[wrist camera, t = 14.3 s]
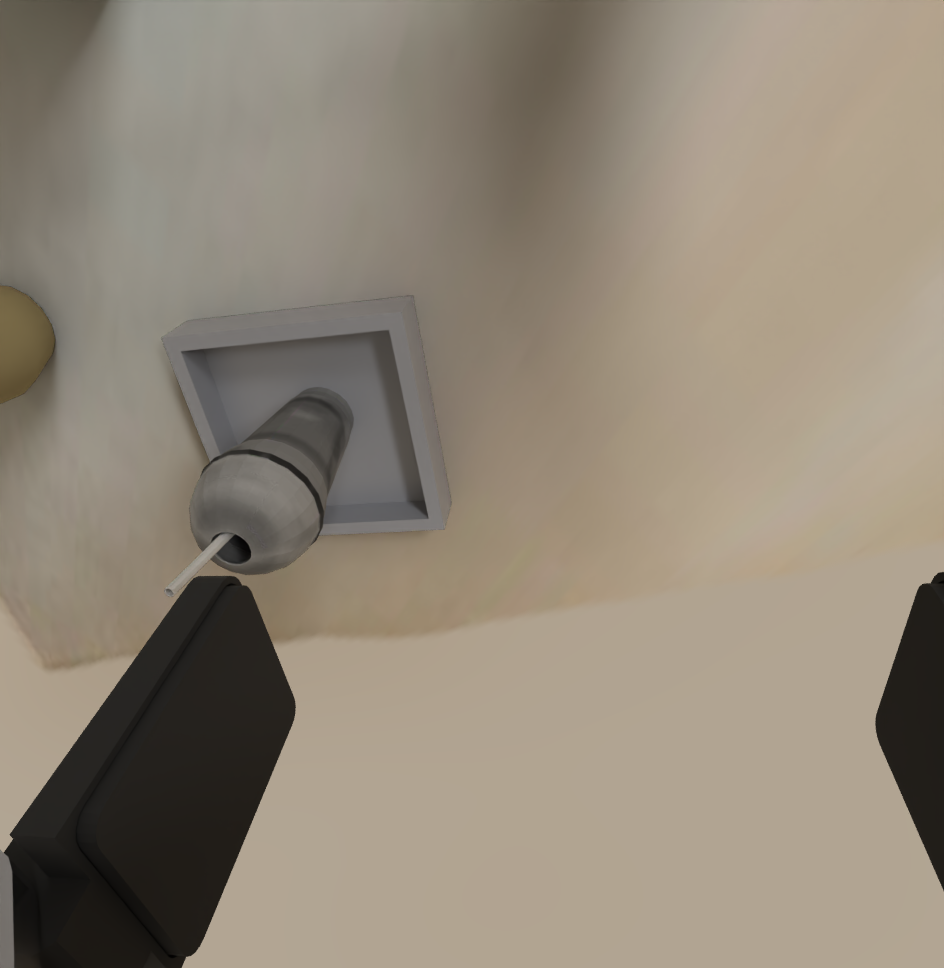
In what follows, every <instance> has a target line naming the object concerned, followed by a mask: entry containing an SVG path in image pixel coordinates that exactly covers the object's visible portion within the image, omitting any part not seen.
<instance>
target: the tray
mask: <svg viewBox="0 0 944 968" xmlns="http://www.w3.org/2000/svg"><path fill="white" fill-rule="evenodd" d="M161 340H162V342H163V345H164V347H165V350H166V352H167V355H168V357H169V360H170V362H171V365H172V367H173V370H174V373H175V375H176V378H177V380H178V383H179V385H180V388H181V390H182V393H183V395H184V398H185V400H186V403H187V405H188V408H189V410H190V413H191V415H192V418H193V420H194V423H195V426H196V428H197V431H198V433H199V436H200V438H201V441H202V443H203V446H204V448H205V451H206V453H207V456H208V458H209V461H210V462H211V461H212V460H213V459H214V458H215V457H217V456H219V455H222V454H223V453H225V452H226V451H228V450H229V449H231V448H233V447H234V446H237V445H239V444H241V443H242V442H243V441H244V440H246V439H247V438H248V437H249V436H250V435H251V434H252V433H254V432H255V431H256V430H257V429H258V428H259V427H260V426H261V425H263V424H264V423H265V422H266V421H267V420H268V419H269V418H271V417H272V416H273V415H274V414H275V413H276V412H277V411H278V410H280V409H281V408H282V407H283V406H284V405H285V404H286V403H288V402H289V401H290V400H291V399H292V398H294V397H296V396H297V395H299V394H300V393H301V392H302V391H304V390H306V389H308V388H314V387H322V388H326V389H330V390H332V391H334V392H336V393H338V394H339V395H340V396H341V397H342V398H344V399H345V400H346V401H347V403H348V405H349V406H350V408H351V410H352V413H353V417H354V422H353V428H352V430H351V434H350V439H349V442H348V445H347V447H346V450H345V452H344V455H343V458H342V460H341V463H340V466H339V468H338V471H337V473H336V476H335V479H334V481H333V484H332V486H331V489H330V492H329V494H328V497H327V502H326V510H325V515H324V519H323V528H322V530H321V532H320V534H319V535H340V534H361V533H382V532H403V531H423V530H444V529H445V526H446V523H447V519H448V515H449V511H450V507H451V503H452V502H451V497H450V492H449V486H448V481H447V475H446V470H445V465H444V459H443V454H442V449H441V443H440V438H439V433H438V427H437V422H436V417H435V411H434V406H433V400H432V395H431V390H430V384H429V379H428V374H427V368H426V363H425V358H424V352H423V347H422V341H421V336H420V331H419V325H418V320H417V315H416V309H415V304H414V299H413V296H404V297H395V298H386V299H377V300H368V301H359V302H350V303H341V304H332V305H323V306H314V307H305V308H296V309H287V310H278V311H269V312H261V313H252V314H243V315H234V316H225V317H216V318H207V319H198V320H189V321H186V322H184V323H183V324H181V325H180V326H178V327H177V328H175V329H174V330H172V331H171V332H169V333H168V334H166V335H164V336H163V337H161Z"/></svg>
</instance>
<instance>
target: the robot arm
mask: <svg viewBox="0 0 944 968" xmlns="http://www.w3.org/2000/svg"><path fill="white" fill-rule="evenodd" d="M295 708H296V707H295V699H294V696H293V694H292V691H291V689H290V686H289V684H288V682H287V679H286V676H285V674H284V671H283V669H282V666H281V664H280V661H279V659H278V656H277V654H276V652H275V649H274V647H273V644H272V642H271V639H270V637H269V634H268V632H267V629H266V627H265V624H264V622H263V619H262V617H261V614H260V612H259V609H258V607H257V604H256V602H255V600H254V597H253V595H252V592H251V590H250V589H249V588H248V587H247V586H242V584H241V583H240V581H239V580H238V579H237V578H236V577H234V576H198V577H196V578H194V579H193V580H192V581H191V582H190V583H189V584H188V585H187V587H186V588H185V590H184V591H183V592H182V594H181V595H180V597H179V598H178V599H177V601H176V602H175V604H174V605H173V606H172V608H171V609H170V611H169V612H168V613H167V615H166V616H165V618H164V619H163V620H162V622H161V623H160V625H159V626H158V627H157V629H156V630H155V632H154V633H153V634H152V636H151V637H150V639H149V640H148V641H147V643H146V644H145V646H144V647H143V649H142V650H141V651H140V653H139V654H138V656H137V657H136V658H135V660H134V661H133V663H132V664H131V665H130V667H129V668H128V670H127V671H126V672H125V674H124V675H123V677H122V678H121V679H120V681H119V682H118V684H117V685H116V686H115V688H114V689H113V691H112V692H111V694H110V695H109V696H108V698H107V699H106V700H105V702H104V703H103V705H102V706H101V707H100V709H99V710H98V712H97V713H96V715H95V716H94V717H93V719H92V720H91V721H90V723H89V724H88V726H87V727H86V728H85V730H84V731H83V733H82V734H81V735H80V737H79V738H78V740H77V741H76V742H75V744H74V745H73V747H72V748H71V749H70V751H69V752H68V754H67V755H66V756H65V758H64V759H63V761H62V762H61V764H60V765H59V766H58V768H57V769H56V770H55V772H54V773H53V775H52V776H51V778H50V779H49V780H48V782H47V783H46V785H45V786H44V787H43V789H42V790H41V792H40V793H39V794H38V796H37V797H36V799H35V800H34V801H33V803H32V804H31V805H30V807H29V808H28V810H27V811H26V812H25V814H24V815H23V817H22V818H21V819H20V821H19V822H18V824H17V825H16V826H15V828H14V829H13V831H12V832H11V833H10V836H11V837H12V838H13V840H12V842H11V843H10V845H9V846H8V847H7V849H6V850H5V852H4V853H3V852H2V851H1V850H0V968H182V965H183V963H184V961H185V958H186V957H188V956H191V955H193V954H194V953H195V952H196V951H197V949H198V947H200V945H201V943H202V941H203V939H204V937H205V934H206V931H207V929H208V927H209V924H210V922H211V920H212V917H213V915H214V912H215V910H216V908H217V905H218V902H219V900H220V898H221V895H222V893H223V890H224V888H225V886H226V883H227V881H228V879H229V876H230V873H231V871H232V869H233V866H234V864H235V862H236V859H237V857H238V854H239V852H240V849H241V847H242V845H243V842H244V840H245V837H246V835H247V832H248V830H249V828H250V825H251V823H252V820H253V818H254V816H255V813H256V811H257V808H258V806H259V804H260V801H261V799H262V796H263V794H264V792H265V789H266V787H267V784H268V782H269V779H270V777H271V775H272V772H273V770H274V767H275V765H276V763H277V760H278V758H279V755H280V753H281V750H282V748H283V746H284V743H285V741H286V738H287V736H288V734H289V731H290V729H291V726H292V724H293V721H294V716H295ZM876 733H877V737H878V740H879V743H880V746H881V748H882V751H883V753H884V755H885V757H886V760H887V762H888V764H889V767H890V769H891V771H892V773H893V775H894V778H895V780H896V782H897V785H898V787H899V789H900V791H901V794H902V796H903V799H904V801H905V803H906V806H907V808H908V810H909V812H910V815H911V817H912V819H913V821H914V824H915V826H916V828H917V831H918V833H919V835H920V838H921V840H922V842H923V844H924V847H925V849H926V851H927V854H928V856H929V858H930V860H931V863H932V865H933V867H934V870H935V872H936V874H937V876H938V879H939V881H940V883H941V886H942V888H943V890H944V572H941V573H938V574H937V575H936V576H934V578H933V580H932V582H931V583H929V584H928V583H927V584H922V585H921V586H920V587H919V589H918V591H917V593H916V596H915V600H914V602H913V605H912V609H911V611H910V614H909V617H908V620H907V624H906V627H905V629H904V632H903V636H902V639H901V642H900V645H899V648H898V651H897V654H896V657H895V660H894V663H893V666H892V669H891V672H890V675H889V678H888V681H887V684H886V687H885V690H884V693H883V696H882V699H881V702H880V705H879V708H878V711H877V714H876Z"/></svg>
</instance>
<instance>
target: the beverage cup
mask: <svg viewBox="0 0 944 968" xmlns="http://www.w3.org/2000/svg"><path fill="white" fill-rule="evenodd" d="M353 422H354V417H353V413H352V410H351V408H350V406H349V405H348V403H347V401H346V400H345V399H344V398H342V397H341V396H340V395H339V394H338V393H336V392H334V391H332V390H330V389H326V388H322V387H314V388H308V389H306V390H304V391H302V392H301V393H300V394H299V395H297V396H296V397H294V398H292V399H291V400H290V401H289V402H288V403H286V404H285V405H284V406H283V407H282V408H281V409H280V410H278V411H277V412H276V413H275V414H274V415H273V416H272V417H271V418H269V419H268V420H267V421H266V422H265V423H264V424H263V425H261V426H260V427H259V428H258V429H257V430H256V431H255V432H254V433H252V434H251V435H250V436H249V437H248V438H247V439H246V440H244V441H243V442H242V443H241V444H239V445H237V446H234V447H233V448H231V449H229V450H228V451H226V452H225V453H223V454H222V455H219V456H217V457H215V458H214V459H213V460H212V461H211V462H210V463H209V464H208V465H207V466H206V467H205V468H204V469H203V471H202V474H201V477H200V479H199V480H198V482H197V485H196V487H195V490H194V493H193V496H192V498H191V501H190V507H189V511H190V525H191V530H192V533H193V535H194V537H195V539H196V542H197V544H198V546H199V548H200V549H201V550H202V551H203V552H202V553H201V554H200V555H199V556H198V557H197V558H196V559H195V560H194V561H193V562H192V563H191V564H190V565H189V566H188V567H187V568H186V569H185V570H184V571H183V572H182V573H180V574H179V575H178V576H177V577H176V578H175V579H174V580H173V581H172V582H171V583H170V584H169V585H168V586H167V587H166V588H165V590H164V592H165V594H166V595H167V596H169V597H173V596H174V595H175V594H176V593H177V592H178V591H179V590H180V589H181V588H182V587H183V586H184V585H185V584H186V583H187V582H188V581H189V580H190V579H191V578H192V577H193V576H194V575H195V574H196V573H197V572H198V571H199V570H200V569H201V568H202V567H203V566H204V565H205V564H206V563H207V562H208V561H209V560H210V559H211V560H212V561H213V562H215V563H216V564H217V565H219V566H220V567H223V568H225V569H227V570H229V571H231V572H235V573H240V574H245V575H255V574H267V573H270V572H273V571H275V570H278V569H281V568H284V567H286V566H288V565H289V564H291V563H292V562H293V561H295V560H296V559H297V558H298V557H300V556H301V555H302V554H303V553H304V552H305V551H306V550H307V549H308V548H309V546H310V545H312V544H313V543H314V542H315V541H316V540H317V538H318V536H319V534H320V532H321V530H322V528H323V519H324V515H325V510H326V502H327V497H328V494H329V492H330V489H331V486H332V484H333V481H334V479H335V476H336V473H337V471H338V468H339V466H340V463H341V460H342V458H343V455H344V452H345V450H346V447H347V445H348V442H349V439H350V434H351V430H352V428H353Z"/></svg>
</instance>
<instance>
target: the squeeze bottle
mask: <svg viewBox="0 0 944 968" xmlns="http://www.w3.org/2000/svg"><path fill="white" fill-rule="evenodd" d="M54 344H55V337H54V333H53V329H52V325H51V323H50V321H49V320H48V318H47V316H46V315H45V313H44V312H43V310H42V308H40V307H39V306H38V305H37V304H36V303H35V302H34V301H33V300H32V299H31V298H30V297H29V296H27V295H26V294H24V293H22V292H20V291H18V290H16V289H14V288H12V287H8V286H1V285H0V404H1V403H3V402H6V401H8V400H10V399H13V398H15V397H17V396H20V395H22V394H24V393H25V392H26V391H27V390H28V388H29V387H30V386H31V385H32V384H33V383H34V382H35V380H36V379H37V377H38V376H39V374H40V373H41V371H42V369H43V368H44V366H45V365H46V363H47V362H48V360H49V358H50V357H51V355H52V354H53V350H54Z"/></svg>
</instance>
